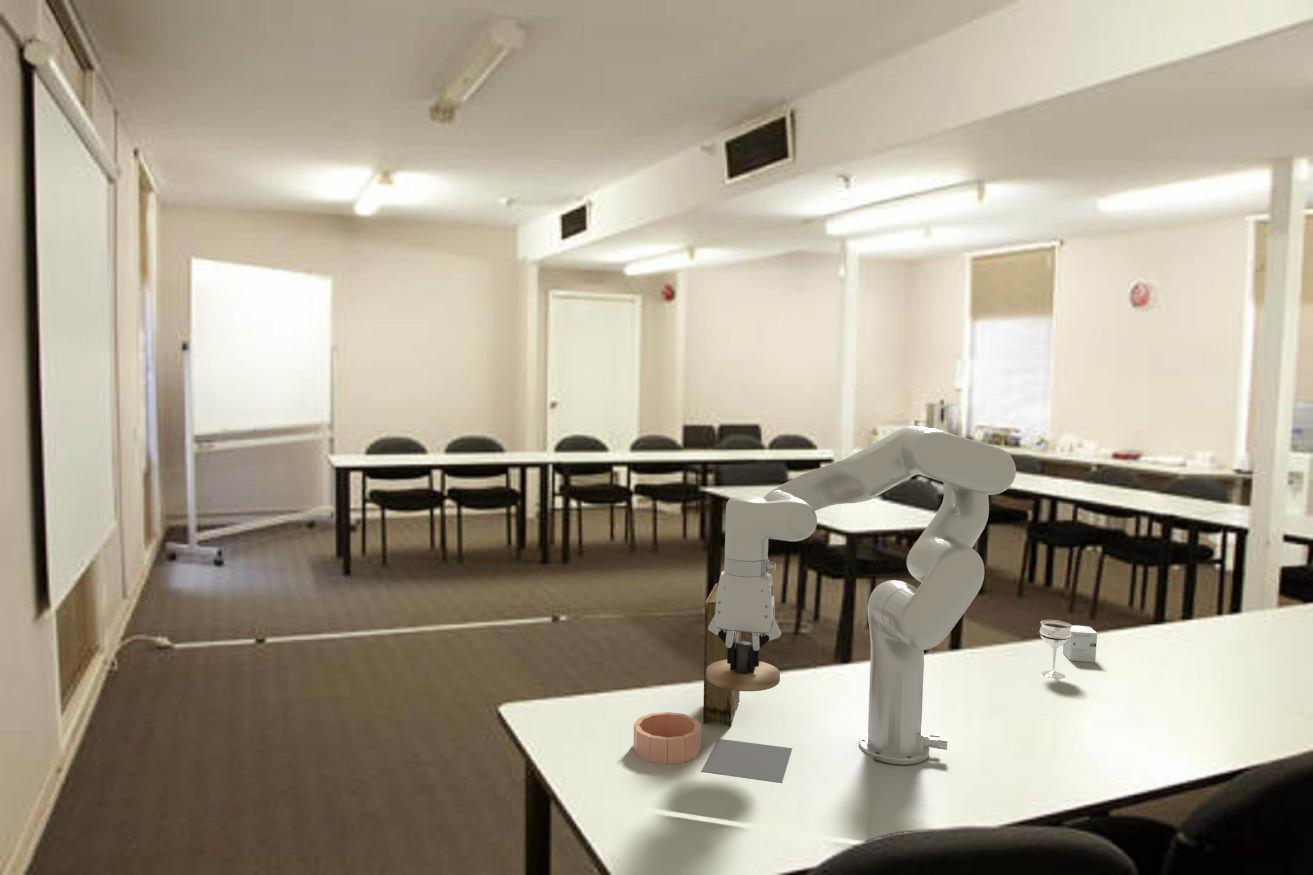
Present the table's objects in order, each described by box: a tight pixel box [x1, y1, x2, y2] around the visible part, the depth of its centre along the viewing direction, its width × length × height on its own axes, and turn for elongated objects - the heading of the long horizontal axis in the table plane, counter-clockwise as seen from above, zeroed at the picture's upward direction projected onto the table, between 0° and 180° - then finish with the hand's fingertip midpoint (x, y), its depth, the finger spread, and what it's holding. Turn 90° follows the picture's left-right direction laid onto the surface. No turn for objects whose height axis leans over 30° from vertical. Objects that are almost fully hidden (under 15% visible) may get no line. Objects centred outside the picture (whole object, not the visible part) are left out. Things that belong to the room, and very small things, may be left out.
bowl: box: [633, 711, 702, 765], centre depth 163 cm, size 12×12×5 cm
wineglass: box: [1039, 619, 1072, 679], centre depth 205 cm, size 7×7×12 cm
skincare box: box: [1062, 624, 1098, 663], centre depth 218 cm, size 6×6×7 cm
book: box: [702, 582, 742, 727], centre depth 180 cm, size 16×6×25 cm, turn 168°
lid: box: [706, 640, 781, 692], centre depth 157 cm, size 13×13×6 cm
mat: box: [700, 738, 793, 784], centre depth 159 cm, size 14×14×1 cm
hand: (743, 667), depth 157 cm, fingers closed on lid, 2 cm apart
